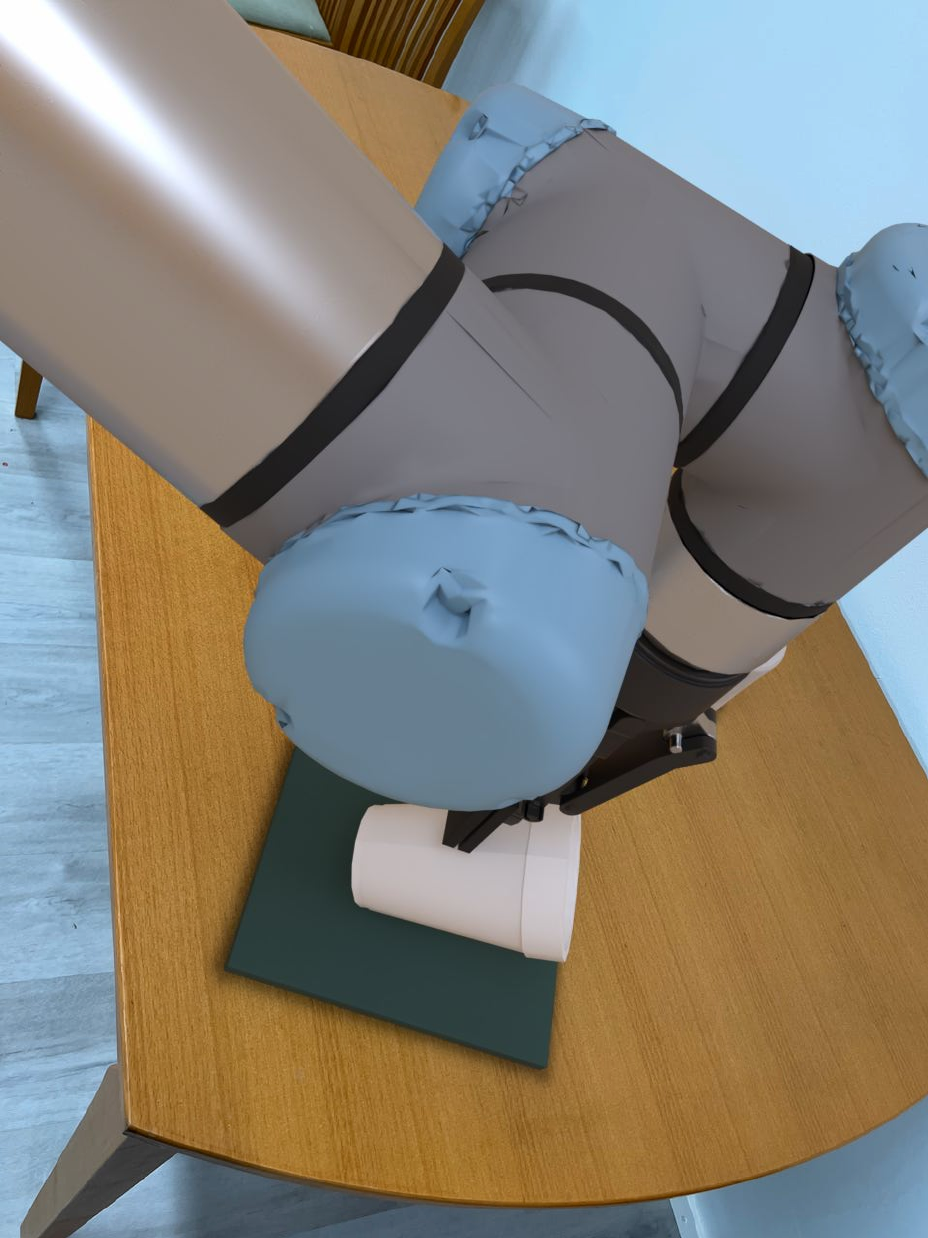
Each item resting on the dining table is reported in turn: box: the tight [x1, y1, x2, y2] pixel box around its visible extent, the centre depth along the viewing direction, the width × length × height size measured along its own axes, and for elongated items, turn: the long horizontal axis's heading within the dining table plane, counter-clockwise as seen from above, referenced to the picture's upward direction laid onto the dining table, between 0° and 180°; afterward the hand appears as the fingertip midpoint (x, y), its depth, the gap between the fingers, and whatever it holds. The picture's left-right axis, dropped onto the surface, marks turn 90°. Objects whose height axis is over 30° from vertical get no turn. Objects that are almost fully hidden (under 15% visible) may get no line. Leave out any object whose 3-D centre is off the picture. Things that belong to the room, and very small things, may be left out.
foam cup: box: [352, 804, 582, 963], centre depth 60 cm, size 10×9×13 cm
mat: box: [223, 745, 559, 1071], centre depth 66 cm, size 22×16×1 cm
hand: (459, 827), depth 56 cm, fingers closed
